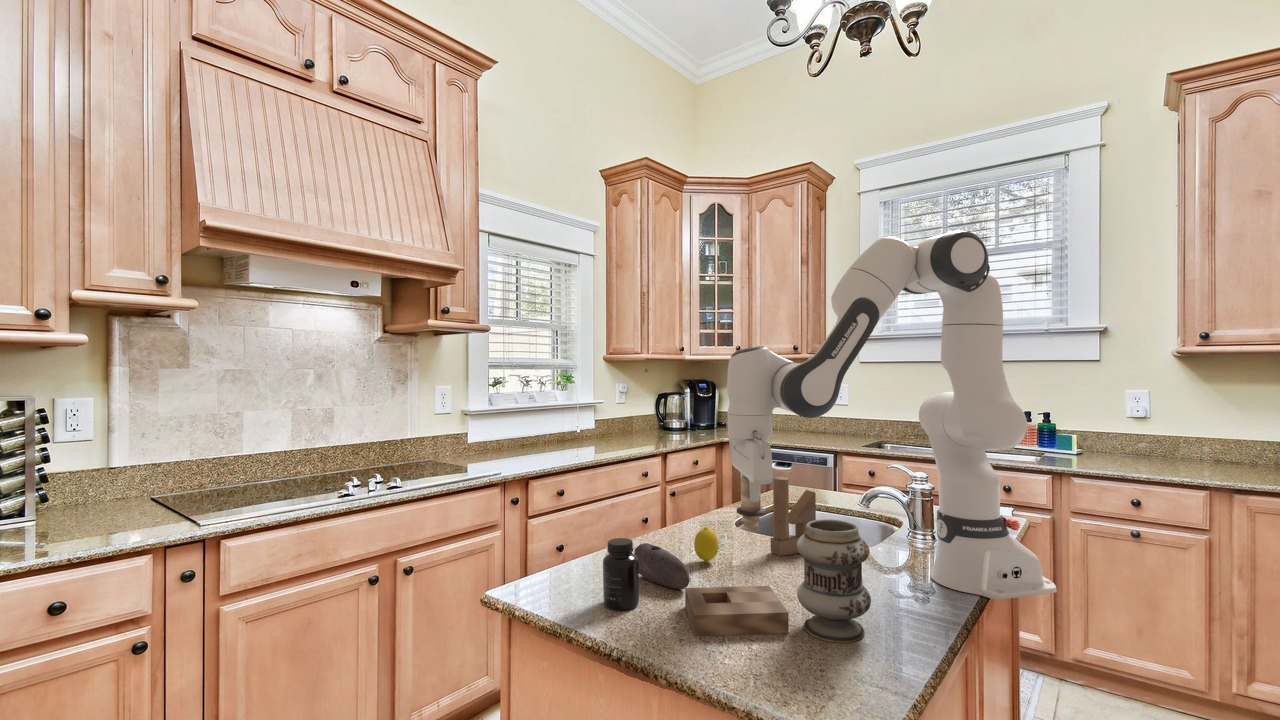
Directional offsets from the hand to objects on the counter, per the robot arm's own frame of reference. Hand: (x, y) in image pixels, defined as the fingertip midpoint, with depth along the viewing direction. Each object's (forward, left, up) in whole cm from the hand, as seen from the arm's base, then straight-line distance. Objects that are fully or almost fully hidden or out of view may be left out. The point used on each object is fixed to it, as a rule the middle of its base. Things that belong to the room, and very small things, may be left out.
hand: (750, 497), depth 119 cm
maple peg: (0, 0, -6) cm, 6 cm away
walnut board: (+6, +12, -19) cm, 23 cm away
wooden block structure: (-16, -24, -19) cm, 35 cm away
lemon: (+6, -18, -19) cm, 27 cm away
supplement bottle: (+26, +4, -19) cm, 32 cm away
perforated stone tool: (+17, -6, -19) cm, 26 cm away
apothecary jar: (-10, +17, -19) cm, 27 cm away
